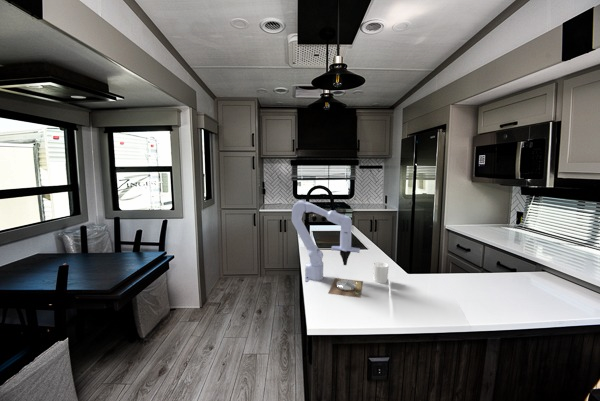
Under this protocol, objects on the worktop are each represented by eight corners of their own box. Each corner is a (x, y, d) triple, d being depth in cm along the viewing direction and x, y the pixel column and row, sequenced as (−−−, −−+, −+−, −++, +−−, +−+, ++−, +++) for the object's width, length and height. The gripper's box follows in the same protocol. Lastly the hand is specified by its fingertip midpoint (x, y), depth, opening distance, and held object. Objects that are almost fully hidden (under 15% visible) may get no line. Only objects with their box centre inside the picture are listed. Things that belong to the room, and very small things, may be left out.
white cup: (370, 284, 144) (371, 265, 142) (374, 278, 150) (374, 261, 149) (386, 287, 140) (387, 268, 139) (389, 281, 147) (389, 263, 146)
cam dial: (332, 285, 139) (332, 274, 138) (347, 280, 144) (348, 271, 143) (351, 296, 126) (351, 285, 126) (367, 292, 131) (368, 281, 131)
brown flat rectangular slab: (328, 295, 130) (328, 292, 130) (334, 280, 149) (334, 276, 148) (360, 300, 126) (360, 296, 126) (363, 283, 144) (363, 280, 144)
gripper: (330, 240, 142) (330, 265, 144) (359, 242, 138) (358, 268, 139) (332, 237, 149) (332, 261, 150) (360, 239, 144) (359, 264, 146)
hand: (345, 264), depth 145 cm, fingers closed
